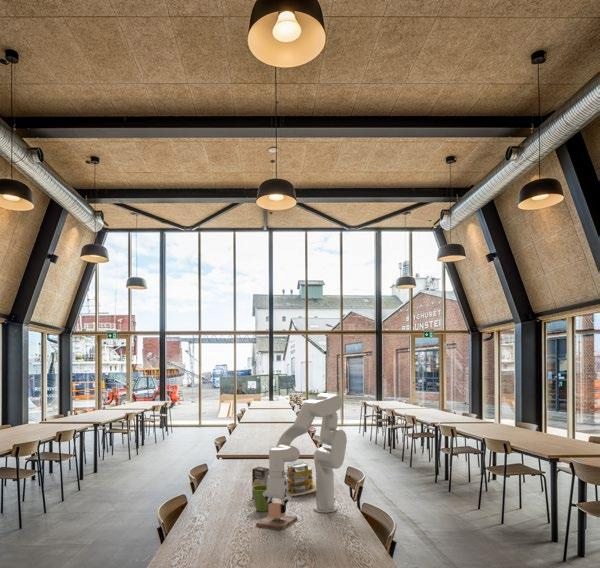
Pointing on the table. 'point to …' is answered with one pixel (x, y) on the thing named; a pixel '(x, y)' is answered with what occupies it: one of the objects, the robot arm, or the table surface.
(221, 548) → the table surface
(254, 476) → the coffee box
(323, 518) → the table surface
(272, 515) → the salmon orange cube
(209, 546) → the table surface
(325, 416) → the robot arm
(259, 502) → the plant pot
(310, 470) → the plate with layered stack
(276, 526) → the post board
